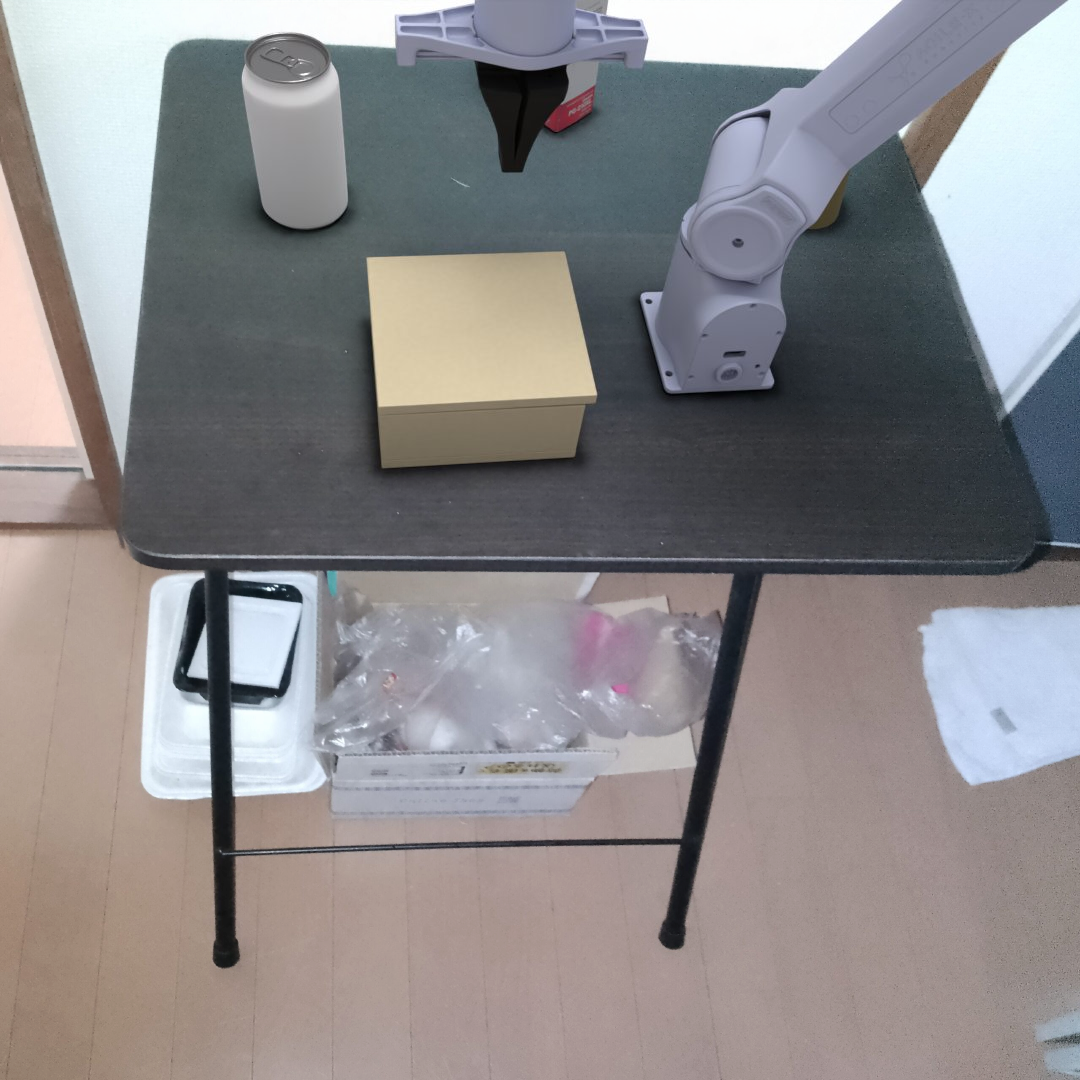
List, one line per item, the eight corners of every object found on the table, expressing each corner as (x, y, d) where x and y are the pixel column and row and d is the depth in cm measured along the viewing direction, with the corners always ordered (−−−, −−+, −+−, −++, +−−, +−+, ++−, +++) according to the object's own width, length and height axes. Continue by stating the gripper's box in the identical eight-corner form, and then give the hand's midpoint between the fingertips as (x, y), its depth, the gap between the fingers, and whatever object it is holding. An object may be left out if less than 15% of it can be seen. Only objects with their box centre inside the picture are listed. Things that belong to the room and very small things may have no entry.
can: (312, 245, 73) (294, 98, 63) (243, 208, 75) (216, 58, 65) (365, 200, 77) (357, 53, 66) (299, 165, 78) (281, 16, 68)
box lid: (563, 260, 67) (564, 250, 67) (595, 403, 61) (597, 395, 60) (367, 266, 65) (366, 256, 65) (378, 415, 59) (377, 406, 58)
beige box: (546, 317, 72) (554, 261, 67) (574, 457, 65) (585, 405, 61) (370, 324, 70) (367, 266, 65) (381, 468, 63) (378, 416, 59)
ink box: (594, 112, 85) (616, -27, 75) (555, 135, 83) (573, -5, 73) (522, 65, 88) (535, -75, 78) (483, 86, 86) (491, -55, 76)
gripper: (646, -87, 56) (607, 123, 68) (389, -97, 54) (394, 123, 65) (673, -18, 53) (627, 192, 64) (398, -25, 50) (401, 195, 62)
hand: (510, 162), depth 64 cm, fingers closed
